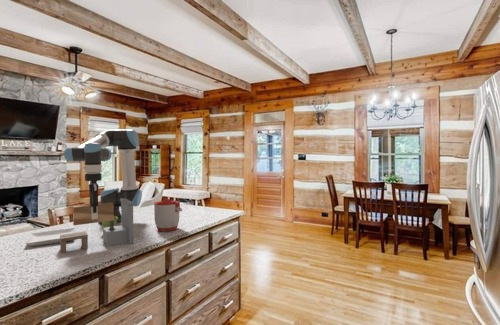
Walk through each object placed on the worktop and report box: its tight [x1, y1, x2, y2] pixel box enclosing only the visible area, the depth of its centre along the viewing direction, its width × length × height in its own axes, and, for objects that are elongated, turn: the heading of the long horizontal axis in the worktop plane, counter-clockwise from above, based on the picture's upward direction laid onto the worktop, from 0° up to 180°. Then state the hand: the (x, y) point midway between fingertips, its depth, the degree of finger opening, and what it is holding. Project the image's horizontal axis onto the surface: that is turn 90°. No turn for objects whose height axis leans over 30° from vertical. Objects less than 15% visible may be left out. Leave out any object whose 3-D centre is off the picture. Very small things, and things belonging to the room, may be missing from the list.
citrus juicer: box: [153, 197, 183, 232], centre depth 176 cm, size 16×17×20 cm
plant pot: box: [101, 217, 118, 229], centre depth 169 cm, size 9×9×9 cm
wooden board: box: [72, 203, 114, 230], centre depth 145 cm, size 3×18×14 cm, turn 127°
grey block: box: [102, 198, 135, 247], centre depth 152 cm, size 19×12×22 cm, turn 37°
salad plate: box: [25, 227, 76, 247], centre depth 155 cm, size 21×21×3 cm
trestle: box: [60, 230, 89, 254], centre depth 140 cm, size 8×11×7 cm
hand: (94, 218), depth 145 cm, fingers closed on wooden board, 3 cm apart
